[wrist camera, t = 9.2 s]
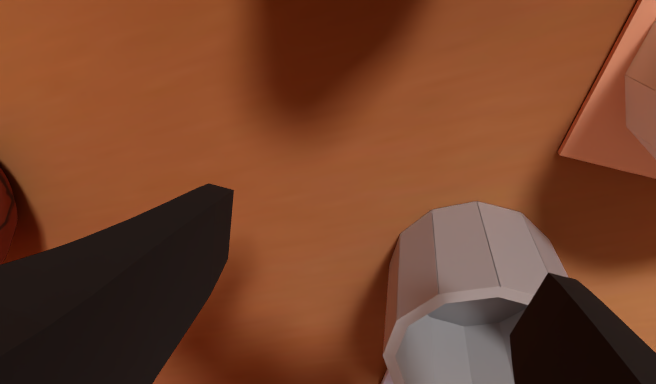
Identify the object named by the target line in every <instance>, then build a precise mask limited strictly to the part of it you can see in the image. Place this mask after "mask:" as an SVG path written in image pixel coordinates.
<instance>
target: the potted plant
mask: <svg viewBox="0 0 656 384" xmlns="http://www.w3.org/2000/svg"><path fill="white" fill-rule="evenodd" d="M16 225H17V207H16V203H15V200H14V196H13V192H12V188H11V186H10V183H9V181H8V179H7V177H6V175H5V174H4V172H3V171H2V169H1V167H0V265H1V264H2V263H3V261H4V260H5V258H6V256H7V253H8V250H9V247H10V244H11V241H12V238H13V235H14V232H15V229H16Z"/></svg>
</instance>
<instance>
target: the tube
mask: <svg viewBox="0 0 656 384" xmlns="http://www.w3.org/2000/svg"><path fill="white" fill-rule="evenodd" d="M557 153H558V154H559V155H560V156H565V157H569V158H573V159H577V160H581V161H585V162H589V163H593V164H597V165H601V166H605V167H609V168H614V169H618V170H622V171H626V172H630V173H634V174H638V175H642V176H646V177H650V178H654V179H656V0H638V1H637V3H636V5H635V7H634V8H633V10H632V12H631V14H630V16H629V18H628V20H627V22H626V24H625V25H624V27H623V29H622V31H621V33H620V35H619V37H618V39H617V41H616V42H615V44H614V46H613V48H612V50H611V52H610V54H609V56H608V58H607V60H606V61H605V63H604V65H603V67H602V69H601V71H600V73H599V75H598V77H597V78H596V80H595V82H594V84H593V86H592V88H591V90H590V92H589V94H588V95H587V97H586V99H585V101H584V103H583V105H582V107H581V109H580V111H579V112H578V114H577V116H576V118H575V120H574V122H573V124H572V126H571V128H570V130H569V131H568V133H567V135H566V137H565V139H564V141H563V143H562V145H561V147H560V148H559V150H558V152H557Z"/></svg>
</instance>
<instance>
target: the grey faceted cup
mask: <svg viewBox="0 0 656 384" xmlns="http://www.w3.org/2000/svg"><path fill="white" fill-rule="evenodd" d="M548 272H549V273H553V274H556V275H560V276H564V277H568V275H567V273H566V271H565V269H564V267H563V265H562V263H561V261H560V259H559V257H558V255H557V253H556V251H555V249H554V247H553V245H552V243H551V241H550V240H549V239H548V238H547V237H546V236H545V235H544V234H543V233H542V232H541V231H540V230H539V229H538V228H537V227H536V226H535V225H534V224H533V223H532V222H531V221H530V220H529V219H528V218H527V217H526V216H525V215H524V214H522V213H521V212H518V211H514V210H510V209H506V208H502V207H498V206H494V205H490V204H486V203H482V202H478V201H477V202H476V201H475V202H470V203H465V204H459V205H454V206H449V207H443V208H438V209H433V210H431V211H429V212H428V213H427V214H425V215H424V216H423V217H422V218H420V219H419V220H418V221H416V222H415V223H414V224H412V225H411V226H410V227H408V228H407V229H406V230H405V231H403V232H402V233H401V234H400V236H399V239H398V241H397V244H396V247H395V250H394V253H393V256H392V259H391V261H390V264H389V276H388V290H387V304H386V318H385V332H384V345H383V358H384V360H385V363H386V365H387V368H388V371H389V373H390V376H391V378H392V381H393V384H515V382H514V376H513V368H512V359H511V347H510V333H511V332H512V330H513V329H514V327H515V325H516V324H517V322H518V321H519V319H520V317H521V316H522V314H523V312H524V311H525V309H526V308H527V306H528V304H529V303H530V301H531V300H532V298H533V296H534V295H535V293H536V291H537V290H538V288H539V287H540V285H541V283H542V282H543V280H544V279H545V277H546V275H547V274H548ZM568 278H569V277H568Z"/></svg>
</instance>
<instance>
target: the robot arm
mask: <svg viewBox="0 0 656 384" xmlns="http://www.w3.org/2000/svg"><path fill="white" fill-rule="evenodd" d="M233 193H234V190H231V189H227V188H224V187H220V186H216V185H212V184H206V185H204V186H201V187H199V188H197V189H194V190H192V191H190V192H188V193H186V194H183V195H181V196H179V197H177V198H175V199H173V200H171V201H169V202H166V203H164V204H162V205H160V206H158V207H155V208H153V209H151V210H149V211H147V212H144V213H142V214H140V215H138V216H136V217H133V218H131V219H129V220H126V221H124V222H121V223H119V224H116V225H114V226H111V227H109V228H106V229H104V230H101V231H99V232H96V233H94V234H91V235H89V236H86V237H84V238H81V239H79V240H76V241H73V242H71V243H68V244H65V245H62V246H59V247H56V248H53V249H50V250H47V251H44V252H41V253H38V254H35V255H31V256H28V257H25V258H22V259H19V260H15V261H12V262H9V263H5V264H1V265H0V384H152V383H153V382H154V380H155V378H156V377H157V375H158V374H159V372H160V371H161V369H162V368H163V366H164V365H165V363H166V362H167V360H168V359H169V357H170V356H171V354H172V353H173V351H174V350H175V348H176V347H177V345H178V344H179V342H180V341H181V339H182V338H183V336H184V334H185V333H186V331H187V330H188V328H189V327H190V325H191V324H192V322H193V321H194V319H195V318H196V316H197V315H198V313H199V312H200V310H201V309H202V307H203V305H204V304H205V302H206V301H207V299H208V298H209V296H210V294H211V292H212V290H213V288H214V287H215V285H216V283H217V281H218V279H219V276H220V274H221V272H222V270H223V268H224V266H225V264H226V262H227V260H228V252H229V240H230V229H231V217H232V205H233ZM510 347H511V359H512V368H513V376H514V382H515V384H656V353H655V352H654V351H653V350H652V349H651V348H650V347H649V346H648V345H647V344H646V343H645V342H644V341H643V340H642V339H640V338H639V337H638V336H637V335H636V334H635V333H634V332H633V331H632V330H631V329H630V328H629V327H628V326H627V325H626V324H625V323H624V322H623V321H622V320H621V319H620V318H619V317H618V316H617V315H615V314H614V313H613V312H612V311H611V310H610V309H609V308H608V307H607V306H606V305H605V304H604V303H603V302H602V301H601V300H599V299H598V298H597V297H596V296H595V295H594V294H593V293H592V292H591V291H589V290H588V289H587V288H586V287H585V286H584V285H582V284H581V283H580V282H579V281H577V280H576V279H572V278H568V277H564V276H560V275H556V274H553V273H549V272H548V274H547V275H546V277H545V279H544V280H543V282H542V283H541V285H540V287H539V288H538V290H537V291H536V293H535V295H534V296H533V298H532V300H531V301H530V303H529V304H528V306H527V308H526V309H525V311H524V312H523V314H522V316H521V317H520V319H519V321H518V322H517V324H516V325H515V327H514V329H513V330H512V332H511V333H510ZM381 384H393V381H392V378H391V376H390V373H389V371H388V368H387V371H386V373H385V375H384V378H383V380H382V382H381Z"/></svg>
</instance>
